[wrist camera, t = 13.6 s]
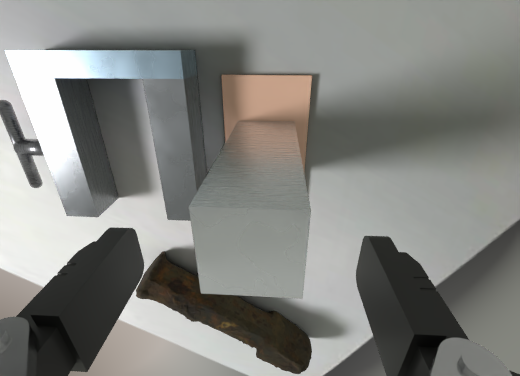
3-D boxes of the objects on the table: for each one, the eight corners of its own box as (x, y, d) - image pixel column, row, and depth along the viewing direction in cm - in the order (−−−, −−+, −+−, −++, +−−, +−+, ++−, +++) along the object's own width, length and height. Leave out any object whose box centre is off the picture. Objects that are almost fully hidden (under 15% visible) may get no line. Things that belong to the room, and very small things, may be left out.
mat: (222, 74, 19) (221, 75, 18) (311, 75, 18) (311, 75, 18) (229, 201, 23) (228, 204, 23) (301, 204, 23) (301, 206, 23)
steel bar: (238, 120, 20) (188, 206, 9) (294, 121, 20) (310, 210, 9) (240, 171, 22) (200, 293, 11) (291, 172, 21) (302, 298, 11)
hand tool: (146, 269, 28) (122, 307, 24) (163, 244, 26) (141, 281, 22) (293, 346, 32) (295, 390, 28) (316, 329, 30) (321, 373, 26)
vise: (-4, 49, 19) (-50, 50, 16) (194, 50, 18) (180, 50, 16) (53, 195, 24) (25, 214, 22) (209, 201, 24) (200, 220, 21)
